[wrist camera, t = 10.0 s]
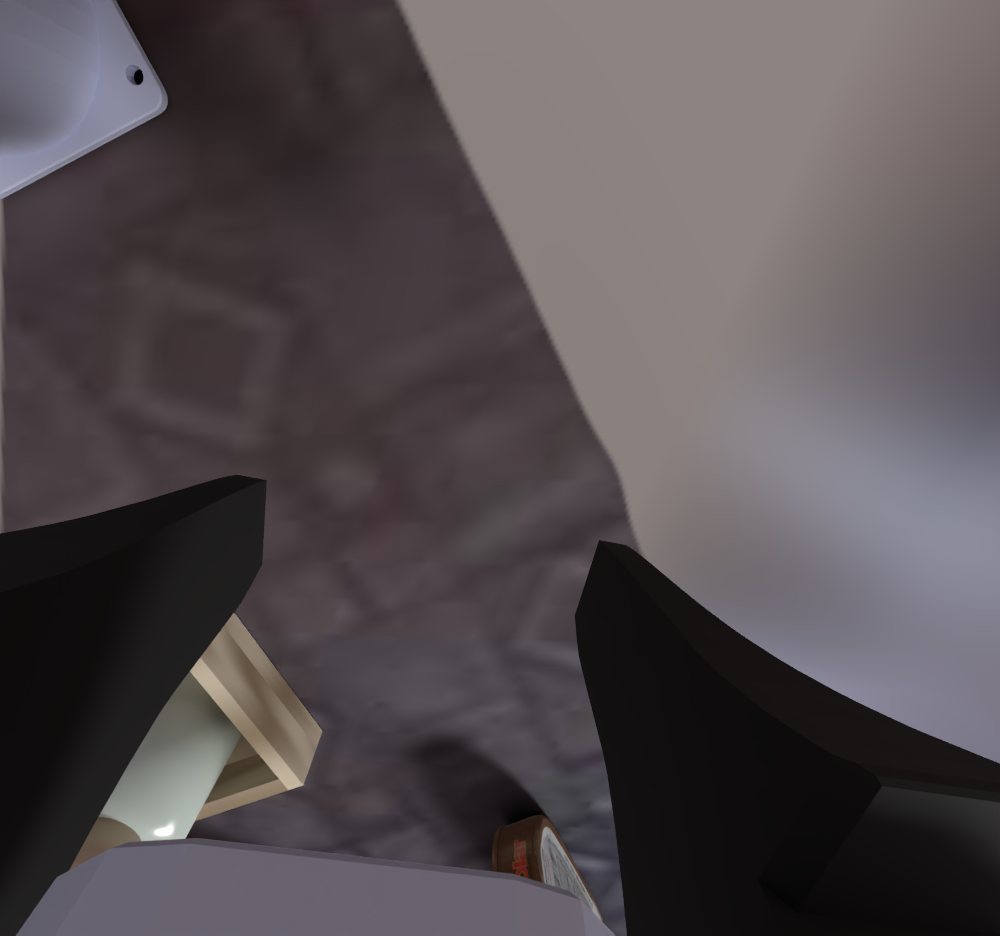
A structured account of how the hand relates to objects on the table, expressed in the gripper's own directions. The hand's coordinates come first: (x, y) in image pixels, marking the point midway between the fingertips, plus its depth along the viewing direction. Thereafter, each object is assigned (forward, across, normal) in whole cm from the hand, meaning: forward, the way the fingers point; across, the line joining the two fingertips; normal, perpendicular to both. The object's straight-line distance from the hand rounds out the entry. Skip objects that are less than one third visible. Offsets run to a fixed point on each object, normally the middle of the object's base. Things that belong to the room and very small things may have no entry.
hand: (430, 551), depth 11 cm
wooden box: (+10, +10, +17) cm, 22 cm away
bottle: (+9, +10, +17) cm, 21 cm away
